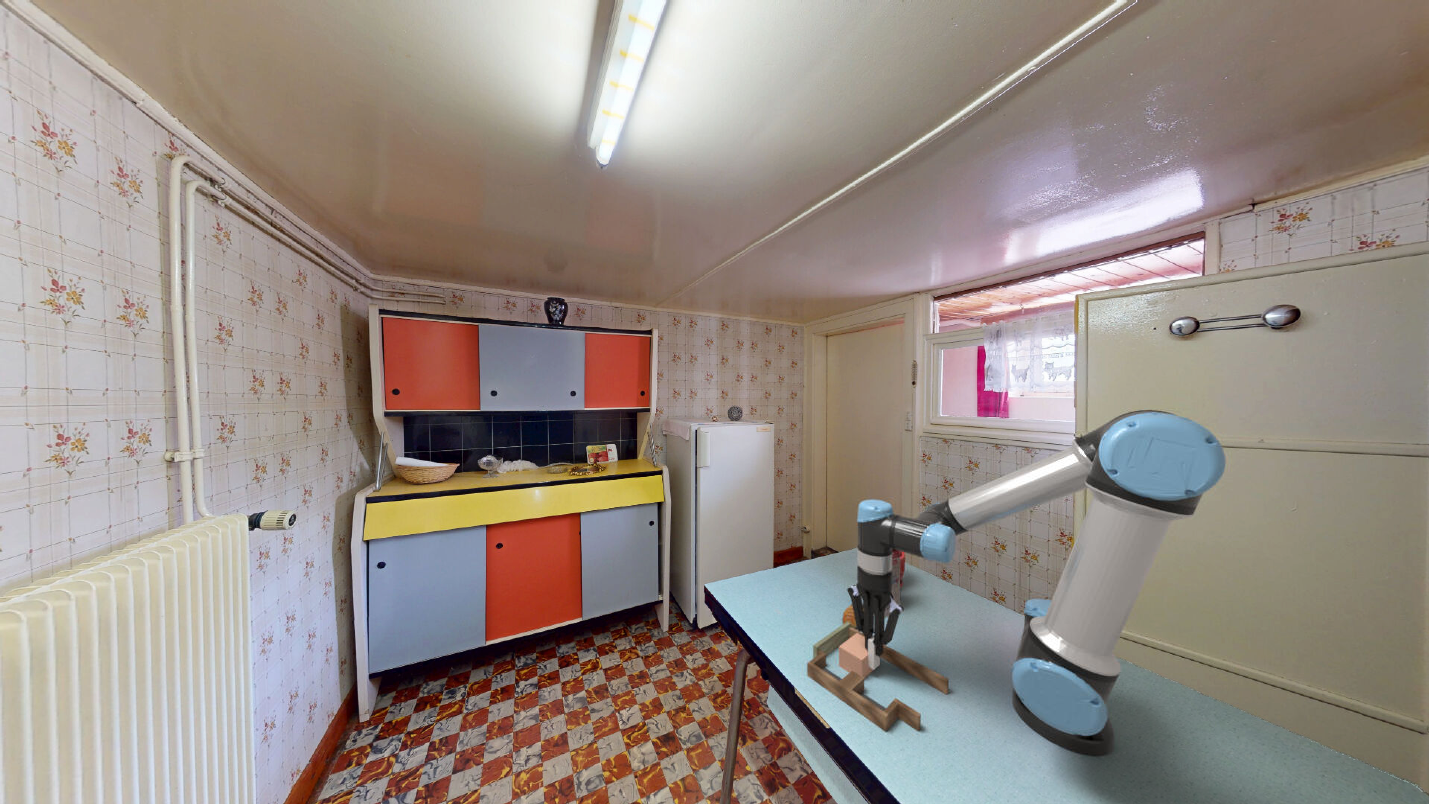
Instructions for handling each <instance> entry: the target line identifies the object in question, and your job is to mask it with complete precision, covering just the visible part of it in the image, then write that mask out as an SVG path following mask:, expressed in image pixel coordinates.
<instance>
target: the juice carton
mask: <svg viewBox="0 0 1429 804" xmlns="http://www.w3.org/2000/svg"><path fill="white" fill-rule="evenodd" d="M891 571H892V590H891V591H892V595H893V597H894V599H893V600H894V601H895V602H896V603H897V605H898V606H900V605H901V588H900V551H898V550H894V549H892V570H891ZM890 613H891V612H890V605H888V606H887V607H886V610H885V618H886V617H889V615H890Z"/></svg>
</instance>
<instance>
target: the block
mask: <svg viewBox="0 0 1429 804" xmlns="http://www.w3.org/2000/svg"><path fill="white" fill-rule="evenodd" d="M838 667H840V668H841V669H842V670H844V671H846V672H848V674H849V673H850V672H851V671H854V672H855V673H857V674H858V675H860V676H862V677H863V678H864V679H866V677H868V676H869V675H870V674H871V673H872V672H873V671H874V670H873V669H871V668H870V667H868V650H866V649H865V637H864V636H862V635H860V634H858V633H856V634H855V635H853V636H852V637H851V638H850V639H848V640H847V641H845V642H844V643H843V644H841V645H840V646H839V647H838Z"/></svg>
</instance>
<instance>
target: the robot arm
mask: <svg viewBox="0 0 1429 804" xmlns="http://www.w3.org/2000/svg"><path fill="white" fill-rule="evenodd" d="M1226 463H1227V461H1226V455H1225V452H1224V448H1223V447H1222V444H1221V442H1220V441H1219V440H1218V439H1217V437H1216V436H1215V435H1214V434H1213V433H1212V432H1211V431H1210V430H1209V429H1207V428H1206V427H1204V426H1203V425H1202V424H1199V423H1198V422H1196V421H1194V420H1191V419H1189V418H1187V417H1183V416H1180V415H1177V414H1174V413H1171V412H1168V411H1163V410H1157V409H1154V410H1153V409H1140V410H1135V411H1134V410H1133V411H1129V412H1126V413H1122V414H1121V415H1118V416H1115V417H1114V418H1113V419H1111V420H1109V421H1108V422H1106V423H1104V424H1103V425H1101V426H1099V427H1098V428H1096V429H1094V430H1092V431H1090V432H1088V433H1085V434H1084V435H1082V436H1080V437H1077V438H1075V439H1073V440H1072V442H1071V445H1070V447H1068V448H1067V449H1064V450H1062V451H1059V452H1057V453H1055V454H1052V455H1050V456H1048V457H1045V458H1043V459H1041V460H1037V461H1036V462H1034V463H1031V464H1029V465H1026V466H1025V467H1022V468H1020V469H1017V470H1015V471H1013V472H1010V473H1007V474H1005V475H1003V476H1001V477H999V478H996V479H993V480H991V481H989V482H987V483H985V484H981V485H979V486H977V487H975V488H973V489H970V490H968V491H965V492H963V493H961V494H959V495H956V496H954V497H952V498H949V499H947V500H944V501H942V502H937V503H934V504H931V505H929V506H927V507H926V509H925V510H923V512H921V513H920V514H919V515H917V516H916V517H915V518H913V517H907V516H902V515H898V514H896V513H895V512H894V507H893V506H892V504H891V503H889V502H886V501H885V500H880V499H865V500H862V501H860V503H859V504H858V507H857V519H856V522H857V553H856V555H857V562H856V563H857V568H856V569H857V570H856V571H857V572H856V573H857V574H856V575H857V576H856V577H857V578H856V579H857V583H856V584H853V585H851V586H850V587H848V588H847V589H846V590H847V594H848V596H849V598H850V601H851V605H852V606H853V611H854V616H855V621H856V626H857V628H856V630H858V631H859V632H861V633H863V634H864V636H865V649H866V650H868V667H870V668H871V669H873V671H875V669H878V668H877V667H879V666H880V664H881V660H880V658H881V657H880V656H881V655H882V654H883V644H884V645H886V646H887V645H888V644H890V643H891V641H892V640H893V637H894V635H895V631H896V627H897V624H898V620H899V617H900V615H901V614H902V612H904V610H905V608H904V606H903V605H901V604H900V606H898V605H897V603H896V602H895V601H894V600H893V599H894V597H893V595H892V591H891V590H892V571H891V570H892V549H894V550H898V551H902V552H904V553H905V554H909V555H913V556H916V557H919V558H922V559H925V560H928V561H931V562H936V563H937V562H938V563H942V564H948V563H951V562H952V560H953V559H954V555H955V553H956V547H957V546H956V545H957V543H956V542H957V541H956V540H957V539H956V537H957V536H958V535H962V534H965V533H967V532H970V531H972V530H975V529H978V528H980V527H984V526H985V525H988V524H991V523H995V522H997V521H1000V520H1004V519H1005V518H1008V517H1012V516H1015V515H1017V514H1020V513H1022V512H1025V511H1027V510H1028V511H1029V510H1030V509H1031V510H1032V509H1033V508H1036V507H1039V506H1042V505H1044V504H1047V503H1050V502H1053V501H1055V500H1058V499H1062V498H1065V497H1068V496H1069V495H1073V494H1076V493H1079V492H1082V491H1083V490H1087V489H1088V490H1089V491H1090V492H1091V495H1092V499H1091V501H1090V504H1089V507H1088V509H1087V512H1086V513H1085V516H1084V517H1083V521H1082V524H1081V526H1080V529H1079V531H1078V534H1077V536H1076V539H1075V541H1074V543H1073V547H1072V549H1071V551H1070V553H1069V556H1068V559H1067V561H1066V563H1065V566H1064V568H1063V571H1062V574H1061V576H1060V578H1059V581H1058V583H1057V586H1056V589H1055V590H1054V593H1053V596H1052V599H1051V600H1050V599H1046V598H1045V599H1044V598H1032V599H1028V600H1027V601H1025V604H1024V609H1023V613H1024V618H1023V619H1024V621H1023V630H1022V636H1021V639H1020V643H1019V646H1018V651H1017V654H1016V658H1015V661H1014V663H1013V664H1012V667H1011V673H1012V674H1011V676H1012V678H1011V679H1012V681H1011V682H1012V685H1013V688H1012V705H1013V708H1014V709H1015V712H1016V714H1017V715H1018V716H1019V717H1020V718H1021V720H1022V721H1023V722H1024V723H1025V724H1026V725H1027V726H1029V727H1030V728H1031V729H1032V730H1033V731H1035V732H1036V733H1037V734H1039V735H1040V736H1041V737H1043V738H1045V739H1047V740H1048V741H1050V742H1052V743H1054V744H1056V745H1057V746H1060V747H1062V748H1065V749H1066V750H1069V751H1073V752H1075V753H1078V754H1083V755H1088V756H1104V755H1107V754H1110V753H1111V752H1112V751H1113V750H1114V747H1115V731H1114V727H1113V723H1112V722H1111V719H1110V716H1109V711H1108V707H1107V703H1108V701H1109V698H1110V695H1111V693H1112V691H1113V689H1114V686H1115V685H1116V684H1115V683H1116V681H1117V680H1118V678H1119V676H1120V673H1121V671H1122V666H1121V663H1120V662H1119V660H1118V659H1117V657H1116V656H1115V654H1114V653H1113V652H1114V651H1115V648H1116V646H1117V644H1118V641H1119V639H1120V636H1121V635H1122V632H1123V630H1124V628H1125V626H1126V623H1127V621H1128V619H1129V617H1130V614H1131V613H1132V610H1133V608H1134V606H1135V603H1136V602H1137V599H1138V597H1139V595H1140V593H1141V590H1142V588H1143V586H1144V584H1145V582H1146V580H1147V577H1148V575H1149V572H1150V570H1151V568H1152V566H1153V564H1154V562H1155V559H1156V557H1157V555H1158V552H1159V551H1160V548H1161V546H1162V545H1163V542H1164V540H1165V537H1166V536H1167V533H1168V531H1169V529H1170V526H1171V524H1172V523H1173V522H1175V521H1178V520H1183V519H1188V518H1192V517H1193V516H1194V513H1195V511H1196V509H1197V507H1198V505H1200V504H1199V503H1200V502H1201V500H1202V497H1203V494H1205V493H1206V492H1207V491H1209V490H1210V489H1212V488H1213V487H1214V486H1216V485H1217V484H1218V482H1219V481H1220V480H1221V478H1222V477H1223V475H1224V473H1225V472H1224V471H1225V469H1226ZM862 604H863V605H862ZM888 605H890V612H891V613H890V615H889V616H887V617H888V618H887V621H886V624H885V618H886V617H885V610H886V607H887V606H888ZM863 609H864V610H863Z"/></svg>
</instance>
